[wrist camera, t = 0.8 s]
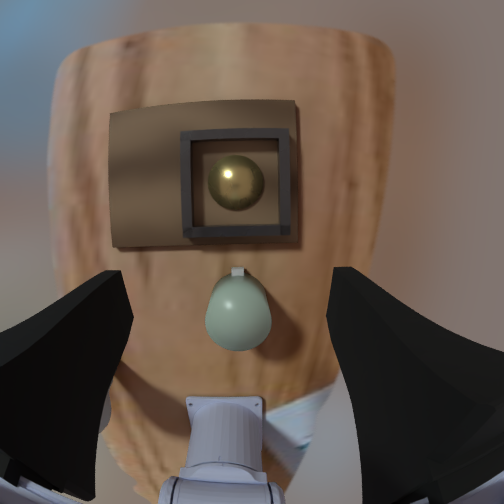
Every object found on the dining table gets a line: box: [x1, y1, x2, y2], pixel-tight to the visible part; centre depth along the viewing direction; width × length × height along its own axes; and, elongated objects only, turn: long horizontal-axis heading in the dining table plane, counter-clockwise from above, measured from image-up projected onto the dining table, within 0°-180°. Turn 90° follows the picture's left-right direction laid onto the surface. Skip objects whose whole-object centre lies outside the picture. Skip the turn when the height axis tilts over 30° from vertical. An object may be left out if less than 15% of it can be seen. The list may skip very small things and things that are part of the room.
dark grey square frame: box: [180, 128, 291, 238], centre depth 22 cm, size 8×8×1 cm
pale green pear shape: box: [205, 267, 272, 351], centre depth 23 cm, size 6×5×5 cm
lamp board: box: [108, 100, 298, 248], centre depth 23 cm, size 12×16×1 cm
